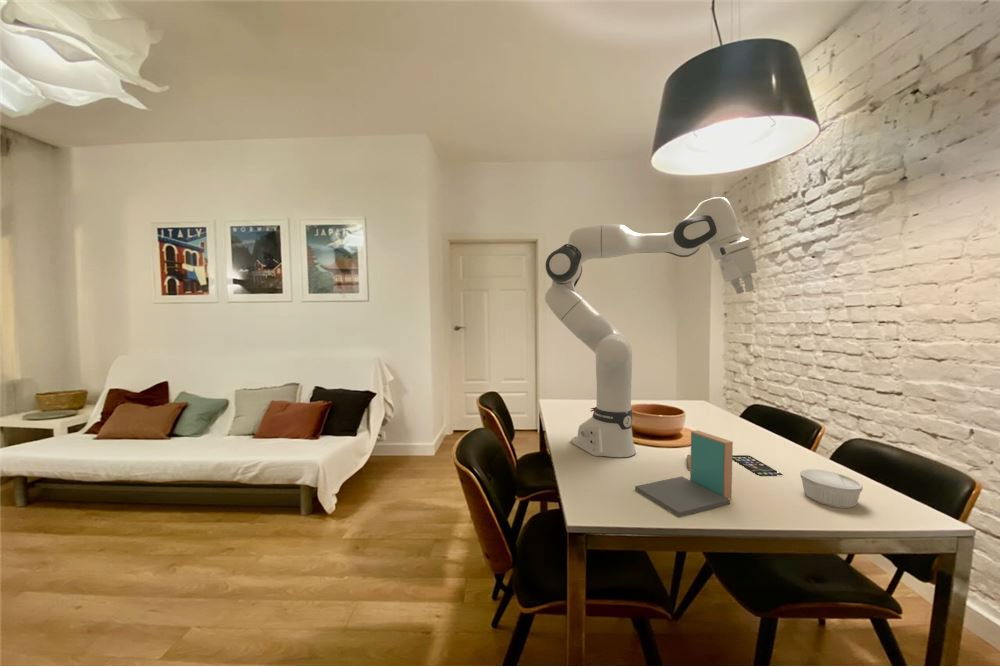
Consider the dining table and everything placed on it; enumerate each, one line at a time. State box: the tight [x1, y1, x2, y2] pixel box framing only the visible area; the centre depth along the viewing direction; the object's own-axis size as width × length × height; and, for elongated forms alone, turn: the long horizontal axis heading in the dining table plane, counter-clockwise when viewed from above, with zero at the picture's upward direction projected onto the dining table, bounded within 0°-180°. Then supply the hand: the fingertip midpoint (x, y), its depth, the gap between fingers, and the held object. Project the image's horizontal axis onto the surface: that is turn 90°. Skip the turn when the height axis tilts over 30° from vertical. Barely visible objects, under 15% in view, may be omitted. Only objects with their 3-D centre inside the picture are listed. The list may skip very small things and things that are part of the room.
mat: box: [634, 476, 731, 518], centre depth 92 cm, size 14×16×1 cm
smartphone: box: [732, 454, 784, 477], centre depth 111 cm, size 7×1×15 cm
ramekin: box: [799, 468, 863, 509], centre depth 90 cm, size 11×11×5 cm
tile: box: [689, 430, 734, 499], centre depth 95 cm, size 10×3×14 cm, turn 21°
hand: (745, 292), depth 110 cm, fingers open, 8 cm apart
